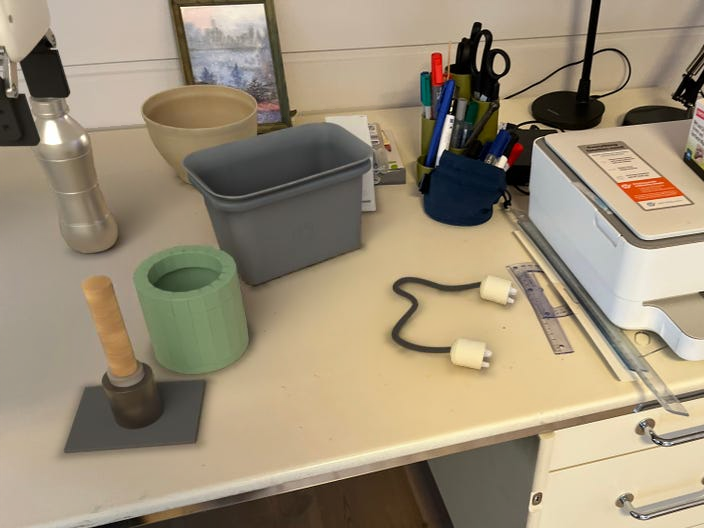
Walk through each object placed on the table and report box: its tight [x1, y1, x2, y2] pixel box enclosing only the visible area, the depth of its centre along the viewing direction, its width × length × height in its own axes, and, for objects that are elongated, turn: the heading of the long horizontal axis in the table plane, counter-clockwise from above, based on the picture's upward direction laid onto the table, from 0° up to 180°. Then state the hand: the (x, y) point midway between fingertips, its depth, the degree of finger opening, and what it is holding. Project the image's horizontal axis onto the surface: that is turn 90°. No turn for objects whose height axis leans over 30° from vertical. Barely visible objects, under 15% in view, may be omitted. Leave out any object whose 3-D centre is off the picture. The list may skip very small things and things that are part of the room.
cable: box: [391, 274, 518, 370], centre depth 90 cm, size 16×16×4 cm
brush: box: [81, 275, 163, 429], centre depth 71 cm, size 5×5×16 cm
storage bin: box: [181, 121, 375, 286], centre depth 96 cm, size 21×16×14 cm
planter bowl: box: [140, 84, 259, 185], centre depth 113 cm, size 16×16×11 cm
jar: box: [132, 244, 250, 375], centre depth 82 cm, size 10×10×10 cm
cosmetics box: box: [324, 114, 377, 212], centre depth 110 cm, size 10×6×10 cm, turn 11°
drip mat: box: [63, 379, 206, 454], centre depth 76 cm, size 12×9×1 cm
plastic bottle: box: [28, 95, 119, 254], centre depth 93 cm, size 6×7×20 cm
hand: (36, 119), depth 63 cm, fingers open, 9 cm apart
